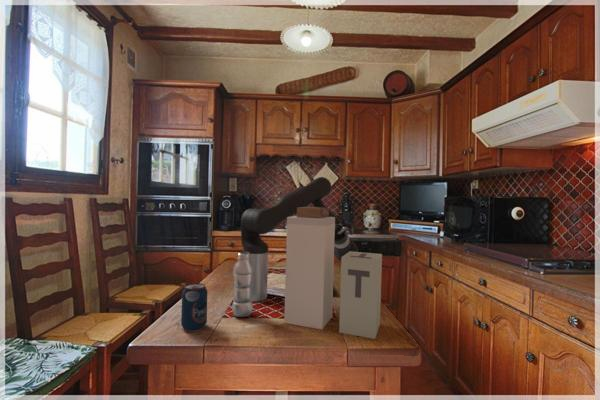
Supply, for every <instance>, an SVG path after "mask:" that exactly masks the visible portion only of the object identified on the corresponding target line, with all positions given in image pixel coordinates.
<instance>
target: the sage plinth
mask: <svg viewBox="0 0 600 400" xmlns="http://www.w3.org/2000/svg"><path fill="white" fill-rule="evenodd" d="M382 265H383V254H382V253H376V252H375V253H372V252H361V251H360V252H359V251H358V252H352V251H349V252H348V253H347V254H345V255H344V256H342V257H341V262H340V266H341V267H340V293H339V294H340V297H339V323H338V324H339V325H338V327H339V328H338V330H339V332H338V333H340V334H345V335H351V336H355V337H361V338H367V339H373V340H376V338H377V335H378V332H379V328H380V325H381V304H382V303H381V301H382V300H381V299H382V267H383V266H382Z"/></svg>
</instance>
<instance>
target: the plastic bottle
mask: <svg viewBox="0 0 600 400" xmlns="http://www.w3.org/2000/svg"><path fill="white" fill-rule="evenodd" d="M237 253H238V254H237V259H238V260H237V261H236V263H235V264H234V266H233V269H232V271H233V280H234V282H233V285H234V292H233V293H234V294H233V300H232V301H233V302H232V306H231V309H232V314H233V315H234V316H235V317H237V318H245V317H246V318H247V317H249V316H251V314H252V313H253V308H254V307H253V301H252V298H251V285H252V277H253V266H252V264H251V263H250V261H249V259H250V257H249V254H250V253H249V252H243V251H239V252H237Z"/></svg>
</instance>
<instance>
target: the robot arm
mask: <svg viewBox="0 0 600 400" xmlns="http://www.w3.org/2000/svg"><path fill="white" fill-rule="evenodd" d="M331 191H332V184H331V181H330V180H329V179H328V178H326V177H324V176H320V177H317V178H315V179H313V180H311V181H310V182H309V183H307V184H306V185H305V186H301V187H299V188H296V189H294V190H291V191H289V192H287V193H285V194H283V195H282V196H280V198H278V201H277V204H276V205H275V204H274V205H273V206H271V207H268V208H264V209H263V208H247V209H246V210H245V211H244V212H243V213H242V215H241V220H240V242H241V246H242V249H243V250H242V252H249V253H250V254H249V257H250V259H249V261H250V263H251V264H252V266H253V277H252V285H251V298H252V302H262V301H265V300H267V297H268V277H269V276H268V270H269V245H268V243H267V242H266V241H264V240H263V239H262V238H261V235H265V234H268V233H270V232H271V231H272V230H274V229H275V228H276V227H277V226H279V225H280V224H281V223H282V222H284V221H287V217H292V216H296V215H297V207H309V206H310V205H311V204H312V205H313V206H312V207H319V208H326V210H329V215H328V216H325V217H335V237H334V257H336V259H337V260H338V261H341V257H342V256H344V255H345V254H347V253H348V252H349V251H352V252H359V249H358V246H357V244H355V242H354V241H353V240H352V239H351V237H350V236H349V235H354V225H353V222H349V223H348V222H347V221H346V219H345V218H344V217H341V219H340V218H339V217H338V216H337V215H336V214H335V213H334V212H333V211H331V210H330V209H329V208H328V207H327V206H326V205H325V203H324V202H323V198H324V197H327V196H329V194H330V193H331Z"/></svg>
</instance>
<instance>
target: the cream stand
mask: <svg viewBox="0 0 600 400" xmlns="http://www.w3.org/2000/svg"><path fill="white" fill-rule="evenodd" d="M334 237H335V217H324V218H300V217H297V215H293V216H291V217H287V219H286V246H285V247H286V248H285V249H286V250H285V251H286V252H285V278H284V279H285V282H284V283H285V285H284V286H285V287H284V314H283V315H284V316H283V317H284V321H283V322H284V323H285V324H289V325H294V326H299V327H300V326H301V327H304V328H305V327H306V328H311V329H317V330H323V329H324V328H325V327H326V325H327V324H328V323H329V321H330V320H331V319H332V318H333V305H334V303H333V300H334V296H333V289H334V269H335V268H334V266H335V246H334Z"/></svg>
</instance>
